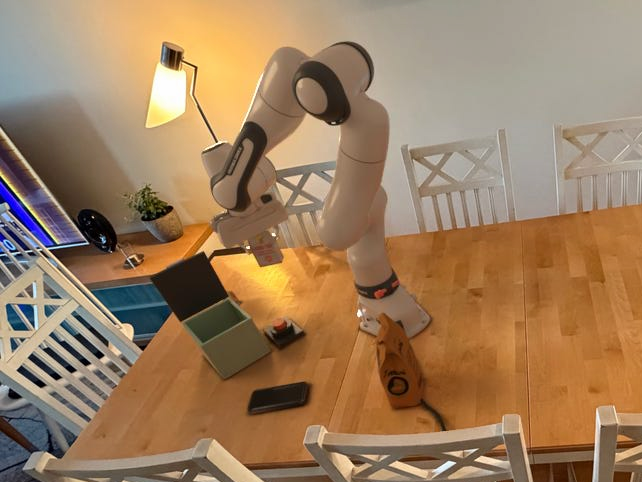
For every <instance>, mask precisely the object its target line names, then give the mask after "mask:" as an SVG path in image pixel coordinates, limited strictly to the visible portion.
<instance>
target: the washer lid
mask: <svg viewBox="0 0 642 482" xmlns="http://www.w3.org/2000/svg"><path fill="white" fill-rule="evenodd" d="M164 267H165V268H164V269H162V270H160V271H158V272H156V273H154V274H152V275H149V276H148V278H149V280H150V281H151V283H152V284H153V286H154V287H155V288H156V290H157V292H158V293H159V295H160V296H161V297H162V298H163V300H164V301H165V303H166V304H167V305H168V307H169V308H170V310H171V311H172V313H173V314H174V316H175V317H176V318H177V320H178V321H179V322H180V323H182V322H184V321H186V320H188V319H190V318H191V317H193V316H195V315H197V314H199V313H201V312H203V311H205V310H206V309H208V308H210V307H212V306H214V305H216V304H218V303H220V302H221V301H223V300H224V299H225V298H227V297H229V295H228V294H227V292H226V291H227V289H226V288H225V286H224V284H223V283H222V281H221V279H220V277H219V275H218V274H217V272H216V270H215V269H214V266H213V265H212V263H211V261H210V258H208V256H207V254H206V252H205V251H204V250H202V251H200V252H198V253H195V254H194V255H191V256H189V257H187V258H183V257H182V258H180V259H177V260H176V261H174V262H172V263H169V264H167V265H165V266H164Z"/></svg>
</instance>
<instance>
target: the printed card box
mask: <svg viewBox="0 0 642 482" xmlns="http://www.w3.org/2000/svg"><path fill="white" fill-rule="evenodd" d="M247 243H248V246H249V247H250V248H251V249H252V251H253V253H252V255H253V257H254V259H255V260H256V261H255V262H257V264H258V266H259V268H265V267H270V266H274V265H279V264H283V262H284V258H285V255H284V254H283V251H282V249H281V248H280V246H279V243H278V241H276V240H275V238H274V237H273V236H272V233H271V232H270V229H268V230H266V231H264V232H262V233H260V234H258V235H256V236H254V237H252V238H250V239H248V240H247Z"/></svg>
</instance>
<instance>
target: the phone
mask: <svg viewBox="0 0 642 482" xmlns="http://www.w3.org/2000/svg"><path fill="white" fill-rule="evenodd" d="M308 391H309V384H308V383H307V381H299V382H298V381H297V382H292V383H287V384H286V383H285V384H281V385H275V386H274V385H273V386H269V387H263V388H258V389H255V390H253V391H252V393H251V395H250V398H249V402H248V404H247V408H246V409H247V412H249V414H250V415H254V414H259V413H265V412H273V411H278V410H282V409H289V408H294V407H300V406H303V405H305V403H306V401H307V397H308V396H307V395H308Z"/></svg>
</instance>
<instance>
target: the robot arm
mask: <svg viewBox="0 0 642 482" xmlns="http://www.w3.org/2000/svg"><path fill="white" fill-rule="evenodd" d="M374 77H375V66H374V62H373V59H372V57H371V55H370V53H369V52H368V51H367V49H366V48H365V47H363V46H362V45H361V44H359V43H357V42H355V41H351V40H350V41H349V40H347V41H346V40H345V41H340V42H339V41H338V42H335V43H333V44H331V45H330V46H327V47H326V48H323V49H321V50H320V51H318V52H317V53H315V54H314V55H312V56H309V55H307V54H306V53H305V52H303V51H302V50H301V49H298V48H296V47H292V46H282V47H279V48H278V49H276V50H275V51H274V52H273V54H271V57H270V58H269V60H268V61H267V63H266V64H265V67H264V69H263V70H262V73H261V76H260V78H259V80H258V83H257V86H256V89H255V93H254V95H253V98H252V101H251V103H250V106H249V109H248V111H247V113H246V116H245V118H244V121H243V123H242V125H241V127H240V130H239V132H238V134H237V136H236V138H235V140H234V142H233V145H232V144H231V143H230V142H229V141H225V140H222V141H217V142H215V143H214V144H212V145H209V146H207V147H206V148H204V149H203V150H202V152H201V154H200V157H201V161H202V164H203V167H204V170H205V171H206V173H207V175H208V178H209V188H210V192H211V195H212V197H213V200H214V201H215V202H216V204H218V205H219V206H220V207H221V208H223V209H225V210H224V211H222V212H220V213H218V214H216V215H213V216H212V218H211V219H210V221H209V226H210V228H211V230H212V231H213V232H214V233H215V234H216V236H217V238H218V241H219V243H220V244H221V246H223V247H224V248H226V249H233V248H234V247H236V246H238V247H240V248H241V249H243V250H244V251H245V253H246V254H247V255H248V256H250V255H253V251H252V249H251V248H250V246H249V245H248V246H245V242H246V241H248V239H250V238H252V237H254V236H256V235H258V234H260V233H262V232H264V231H267V230H270V229H273V233H271V235H272V236H273V237H274V238H275V240H276V242H278V241H280V240H281V237H280V235H279V234H280V233H279V232H280V226H279V225H280V224H282V223H284V222H286V221H288V218H289V214H288V212H287V210H286V208H285V207H284V205H283V203H282V202H281V201H280V200H279V199H278V198H277V196H276V194H275V193H274V192H273V191H272V190H270V189H271V188H272V187H273V186H275V184H276V183H277V181H278V174H277V169H276V167H275V165H274V163H272V161H271V160H270V159H269V158H268V157H267V155H268V154H269V153H270V152H271V151H272V150H273V149H275V148H276V147H277V146H279V145H280V144H281V143H283V142H284V141H285V140H287V139H288V138H289V137H291V136H293V134H294V133H295V132H296V131H297V129H299V127H300V126H301V125H302V123H303V122H304V120H305V118H306V116H307V114H308V115H310V116H311V117H313V118H314V119H317V120H319V121H323V122H324V123H326V125H328V126H331V127H336V126H337V127H338V126H339V137H338V144H337V145H338V146H337V153H336V163H335V170H334V172H333V173H334V174H333V177H332V180H331V182H330V185H329V189H328V192H327V195H326V198H325V201H324V205H323V207H322V210H321V212H320V214H319V216H318V218H317V220H316V223H315V225H314V231H315V235H316V237H317V240H318V241H319V242H320V244H322V245H323V246H324V247H325V248H327V249H328V250H330V251H333V252H337V253H338V252H339V253H341V252H345V251H346V260H347V263H348V266H349V269H350V272H351V274H352V277H353V283H354V284H353V285H354V288H355V290H356V292H357V294H358V298H357V303H356V304H357V308H358V311H357V317H358V318H360V319H361V321H360V324H359V328H360V330H362V331H364V332H366V333H368V334H371V335H373V336H376V337H377V335H378V332H379V329H380V327H381V323H380V321H379V318H378V317H379V315H380V314H381V313H385V314H386V315H387V316H389V317H390V318H391V319H392V320H394V322H396V323H397V324H399V325H400V326H401V327H402V328H403V330H404V331H405V333H406V335H407V337H408V339H409V340H410V339H411V338H413V337H414V336H416V335H417V334H419V333H420V332H422V331H423V330H424V329H426V327H427V326H428V325H429V324H430V322H431V317H430V315H429V314H428V313H427V312H426V311H425V310H424V309H423V307H421V306H420V305H419V304H418V303H417V302H416V301H417V300H418V297H417V295H416V294H415V293H414V292H412V293H409V291H408V288H407V285H402V283H401V282H400V280H399V278H398V275H397V273H396V271H395V270H394V269H393V267H392V265H391V262H390V258H389V254H388V251H387V244H386V225H385V224H386V223H385V222H386V221H385V218H386V217H385V216H386V211H387V210H386V209H387V205H388V195H387V192H386V190H385V188H384V187H383V185H382V182H383V178H384V177H383V176H384V173H385V172H384V171H385V167H386V162H387V156H388V150H389V143H390V130H391V129H390V127H391V126H390V116H389V112H388V110H387V109H386V107H385V106H384V105H383V104H382V103H381V102H379V101H377V100H375V99H373V98H370V96H368V94H367V93H366V92H368V90H369V89H370V87H371V85H372V83H373V80H374ZM420 402H421V403H420V404H421V405H422V406H423V407H424V408H425V409H427V411H429V412H430V413H432V414H433V415H434V417H435V418H436V419H437V421H438V422H439V425H440V428H441V431H442V432H443V431H447V428H446V425H445V422H444V420H443V418H442V417H441V415H440V414H439V412H438V411H437V410H436V409H434V408H433V407H432V406H431V405H429V404H428V403H427V402H426V401H425V400H424V398H423V397H422V398H421V400H420Z"/></svg>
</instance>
